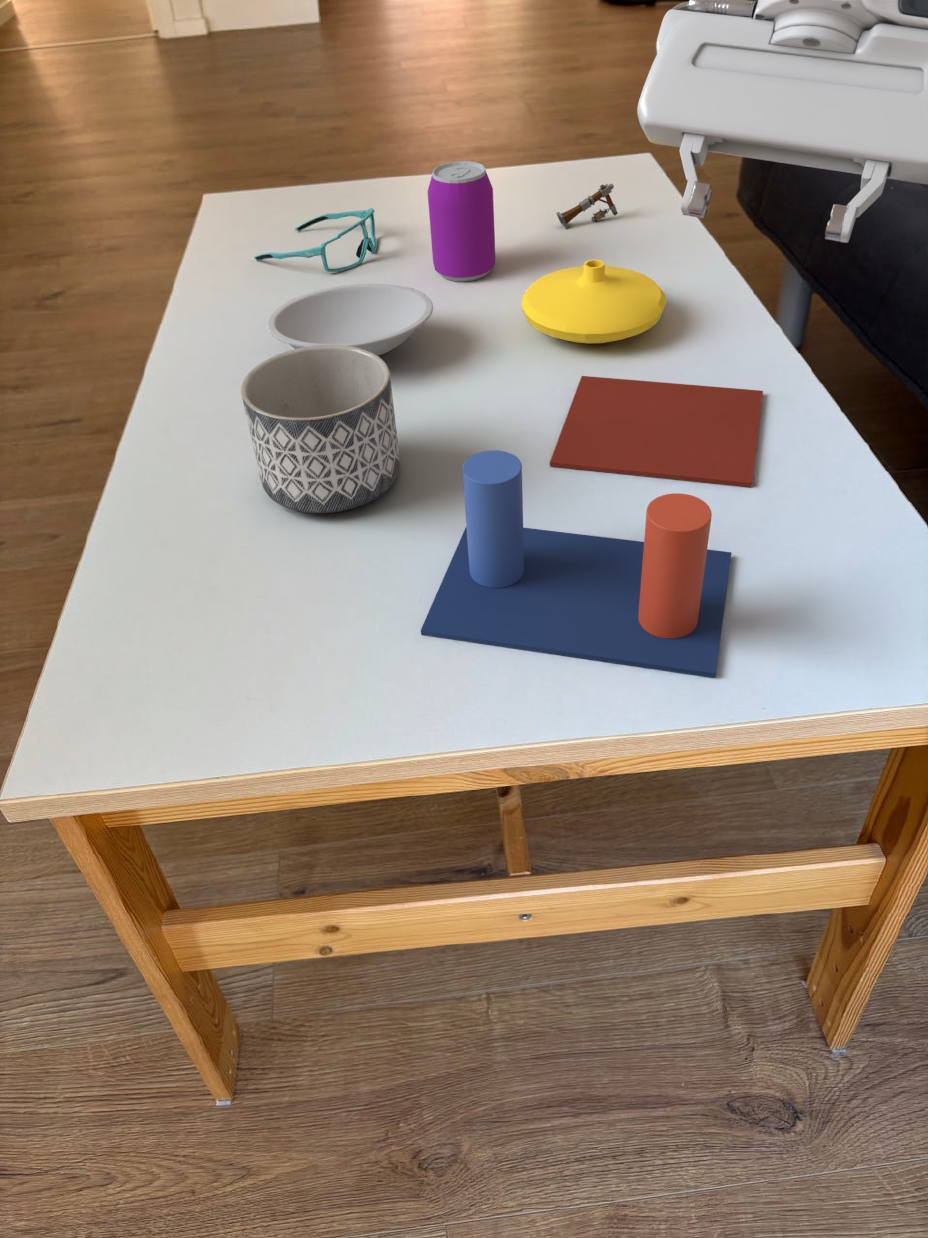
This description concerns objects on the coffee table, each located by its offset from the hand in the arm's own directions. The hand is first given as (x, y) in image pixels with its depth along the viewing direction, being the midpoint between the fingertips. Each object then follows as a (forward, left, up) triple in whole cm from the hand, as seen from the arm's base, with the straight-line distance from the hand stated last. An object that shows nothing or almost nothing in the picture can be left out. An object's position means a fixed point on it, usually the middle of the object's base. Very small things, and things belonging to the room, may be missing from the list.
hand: (762, 225), depth 67 cm
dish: (+41, -25, -26) cm, 55 cm away
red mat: (+7, -16, -26) cm, 31 cm away
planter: (+35, -2, -26) cm, 44 cm away
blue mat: (+10, +9, -26) cm, 29 cm away
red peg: (+3, +11, -26) cm, 28 cm away
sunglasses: (+55, -51, -26) cm, 79 cm away
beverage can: (+35, -48, -26) cm, 65 cm away
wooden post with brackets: (+23, -65, -26) cm, 74 cm away
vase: (+17, -36, -26) cm, 48 cm away
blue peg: (+17, +8, -26) cm, 32 cm away
